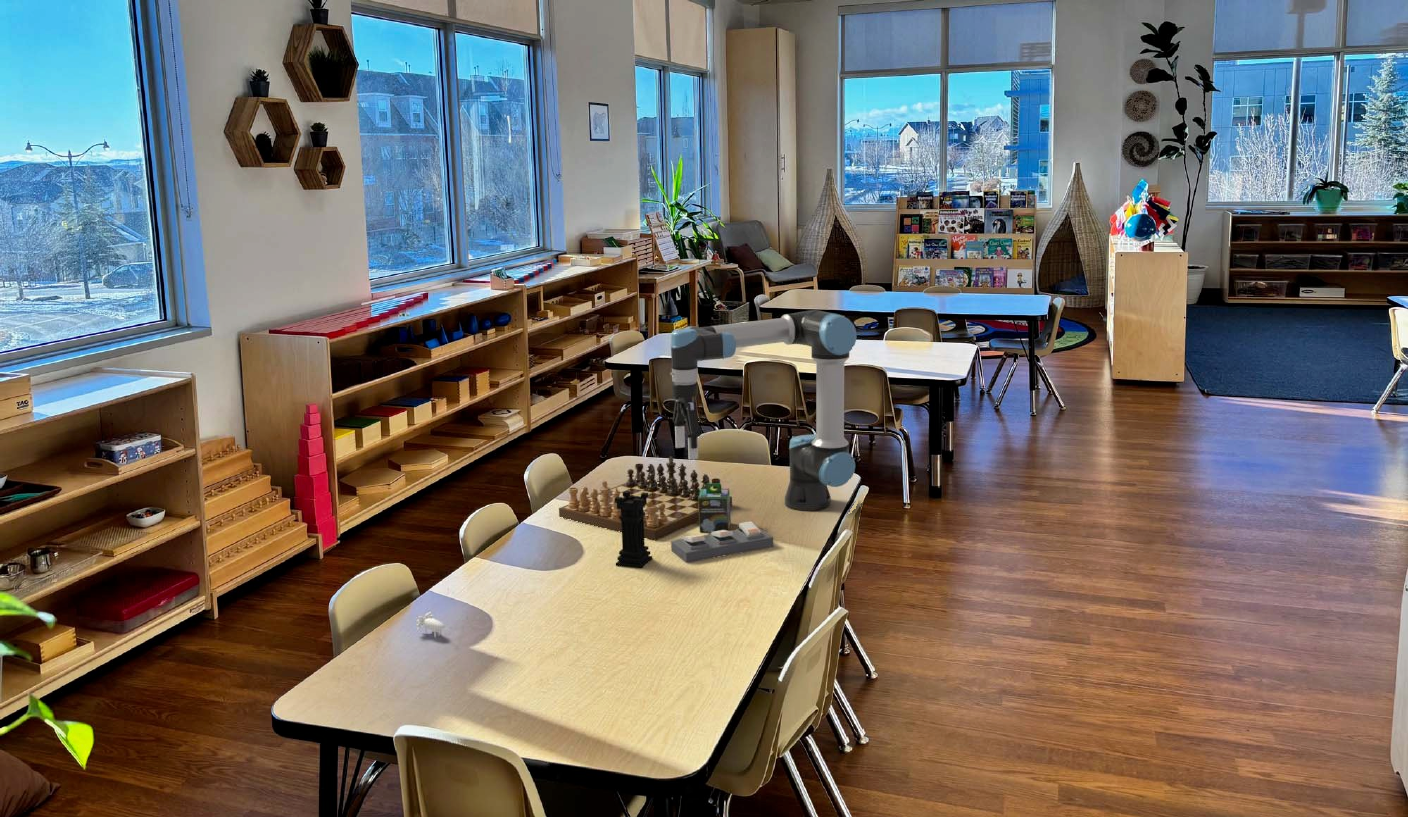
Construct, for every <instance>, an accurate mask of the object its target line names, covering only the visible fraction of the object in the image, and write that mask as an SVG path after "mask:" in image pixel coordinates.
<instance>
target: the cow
mask: <svg viewBox="0 0 1408 817" xmlns="http://www.w3.org/2000/svg"><path fill="white" fill-rule="evenodd" d="M433 616H434V614H432V610H430V611H429V612H427V613H426V614H425V615H419V616H418V615H417V616H416V617H417V620H416V621H415V622H416V623H417V624H415V626H417V628H416V630H419V629H420V628H421V626H424V629H425V630H424V631H425V635H426V634H427V635H428V629H429V630H431V631H432V632H433V635H434V637H436V638H437V631H439V635H440V634H442V635H443V633H442V631H443V630H446V629H452V626H449V627H445V624H444V623H443V622H442V621H441V620H439V619H435V618H434V617H433ZM432 632H431V633H432ZM434 637H433V638H434Z"/></svg>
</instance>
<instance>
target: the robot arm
mask: <svg viewBox="0 0 1408 817" xmlns="http://www.w3.org/2000/svg"><path fill="white" fill-rule="evenodd" d="M670 334H671V335H670V353H671V354H670V356H671V372H669V375H670V376H671V379H672V380H671V381H672V382H673V383H672V384H671V391H672V392H671V394H672V396H673V397H674V406H673V416H672V422H673V423H674V434H675V435H674V436H675V439H674V440H675V449H682V448H685V447H686V438H687V446H688V447H687V449H688V452H687V453H688V454H687V455H688V457H687V458H688V460H697V459H699V442H698V441H699V437H701V430H700V425H699V424H700V423H699V418H698V417H699V416H698V412H697V402H693V398H694V397H697V396H698V395H699V384H698V381H699V373H698V372H699V371H698V370H699V369H698V366H699V365H698V362H702V361H711V360H721V359H722V360H724V359H728V358H732V357H733V356H735V354H736V351H737V349H738V348H748V347H754V346H762V345H763V346H764V345H771V344H772V345H773V344H777V343H784V344H785V345H788V346H789V345H802V346H807V347H811V359H812V360H814V362H815V363H816V364H815V365H816V366H815V367H816V373H815V375H816V379H815V381H816V391H815V392H816V396H815V398H816V399H815V400H816V402H815V403H816V410H815V411H816V417H815V418H816V420H815V422H816V425H815V426H816V427H815V428H816V429H815V430H816V433H815V434H803V435H802V434H801V435H797V436H793V437H792V438H791V439H790V440H789V448H788V450H789V483H788V486H787V489H786V491H785V492H786V493H785V495H784V505H785V507H787V508H789V509H792V510H796V509H798V511H806V510H809V511H811V512H812V511H819V510H824V509H827V508H829V507H830V506H831V505H832V504H831V500H832V497H831V494H830V491H829V487H834V488H837V487H842V486H843V485H845V484H847V483H848V482H849V481H850V480H851V479H852V477H853V476H854V473H855V471H856V470H855V469H856V462H855V459H854V457H853V456H852V455H851V454H850V452H849V449H850V448H849V446H850V445H849V441H848V440H847V438H845V363H846V362H847V360H848V359H849V358H850V352H851V350H853V347H854V346H855V345H856V343H857V330H856V327H855V325H854V323H853V322H852V321H851V320H850V319H849V318H847V317H846V316H843V315H842V314H839V313H835V312H834V313H833V312H827V311H822V310H817V309H815V310H813V309H812V310H806V311H799V312H794V313H786V314H783V315H782V316H781V317H780V318H778V317H777V318H770V319H762V320H761V319H760V320H753V321H743V322H737V323H729V324H719V325H711V326H701V327H698V326H696V325H695V326H687V327H685V328H678V329H674V330H672V332H671V333H670ZM685 426H686V427H685ZM685 428H686V429H687V433H688V434H687V435H685V434H686V433H685ZM828 486H829V487H828ZM809 511H808V512H809Z"/></svg>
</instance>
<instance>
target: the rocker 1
mask: <svg viewBox="0 0 1408 817" xmlns="http://www.w3.org/2000/svg"><path fill="white" fill-rule="evenodd" d="M703 536H704V535H699V534H693V535H686V536H683V538H682V539H684V541H688V542H698V541H703V540H705V537H703Z"/></svg>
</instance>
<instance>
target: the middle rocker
mask: <svg viewBox="0 0 1408 817" xmlns="http://www.w3.org/2000/svg"><path fill="white" fill-rule="evenodd" d="M731 531H732V530H729V531H726V530H720V531H714V532H710V534H712V536H717V537H726V536H731V535H733V532H731Z"/></svg>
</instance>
